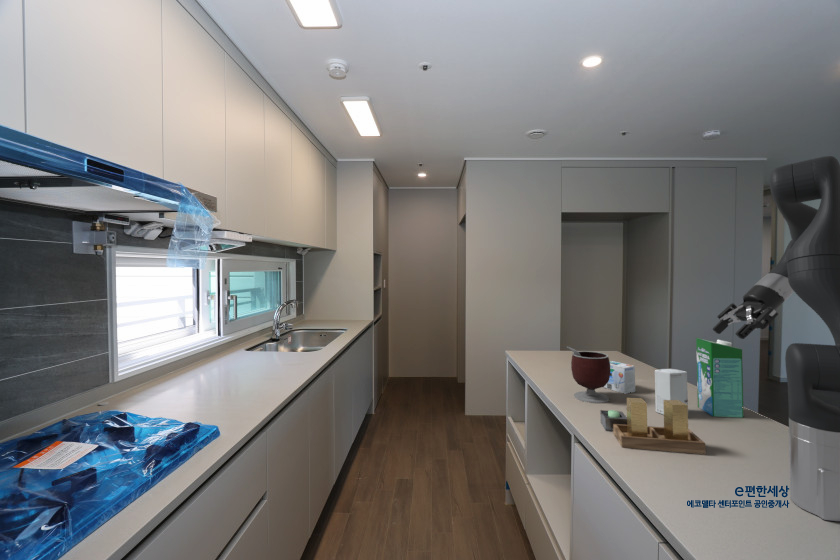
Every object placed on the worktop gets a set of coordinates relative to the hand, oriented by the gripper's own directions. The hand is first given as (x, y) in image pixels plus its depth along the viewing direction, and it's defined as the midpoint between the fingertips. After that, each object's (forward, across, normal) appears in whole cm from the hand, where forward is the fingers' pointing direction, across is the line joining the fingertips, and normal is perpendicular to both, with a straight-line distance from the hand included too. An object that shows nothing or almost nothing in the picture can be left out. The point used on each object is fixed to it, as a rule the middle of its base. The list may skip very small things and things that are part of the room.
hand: (726, 334), depth 102 cm
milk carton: (+12, -22, +31) cm, 40 cm away
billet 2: (+32, +3, +10) cm, 34 cm away
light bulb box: (+28, -47, +16) cm, 57 cm away
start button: (+41, -9, +2) cm, 42 cm away
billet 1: (+40, +1, +4) cm, 40 cm away
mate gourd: (+39, -37, +4) cm, 54 cm away
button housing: (+41, -9, +2) cm, 42 cm away
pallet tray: (+36, +2, +7) cm, 37 cm away
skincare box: (+24, -21, +20) cm, 38 cm away
